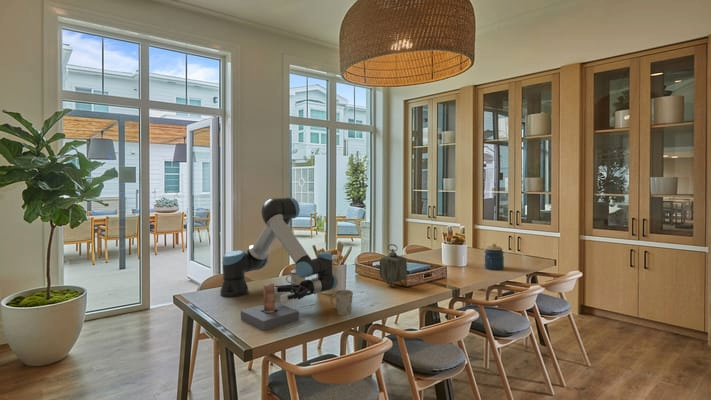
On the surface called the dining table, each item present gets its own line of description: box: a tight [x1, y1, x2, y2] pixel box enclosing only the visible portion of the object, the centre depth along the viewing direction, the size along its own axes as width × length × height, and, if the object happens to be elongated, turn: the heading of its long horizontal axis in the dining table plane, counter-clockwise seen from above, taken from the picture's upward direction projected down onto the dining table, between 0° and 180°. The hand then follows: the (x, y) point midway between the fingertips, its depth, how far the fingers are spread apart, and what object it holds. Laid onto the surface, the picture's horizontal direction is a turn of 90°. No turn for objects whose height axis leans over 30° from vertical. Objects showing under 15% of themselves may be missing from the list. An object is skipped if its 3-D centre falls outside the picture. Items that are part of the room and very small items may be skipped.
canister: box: [484, 243, 505, 271], centre depth 277 cm, size 13×13×18 cm
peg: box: [263, 283, 276, 314], centre depth 178 cm, size 5×5×16 cm
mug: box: [329, 289, 354, 316], centre depth 187 cm, size 8×13×10 cm, turn 58°
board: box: [240, 301, 300, 331], centre depth 179 cm, size 20×18×4 cm
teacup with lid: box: [285, 268, 306, 285], centre depth 236 cm, size 12×9×12 cm
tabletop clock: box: [379, 243, 408, 288], centre depth 233 cm, size 14×9×25 cm, turn 50°
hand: (272, 295), depth 179 cm, fingers open, 13 cm apart
